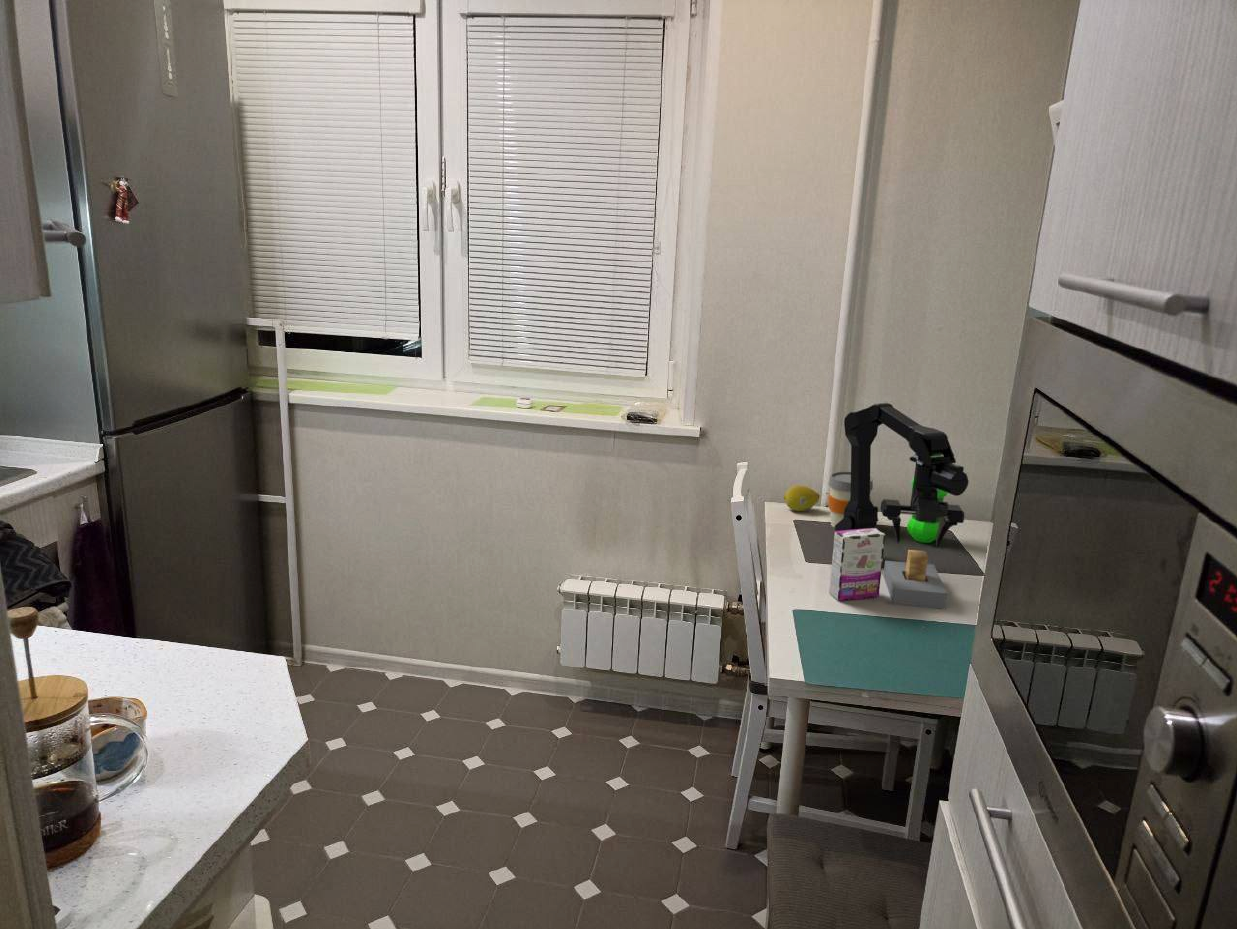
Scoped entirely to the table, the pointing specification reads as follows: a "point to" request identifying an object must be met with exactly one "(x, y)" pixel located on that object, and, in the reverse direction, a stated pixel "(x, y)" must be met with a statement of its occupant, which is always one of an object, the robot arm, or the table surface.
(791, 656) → the table surface
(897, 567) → the socket block
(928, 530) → the plastic bottle
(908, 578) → the peg
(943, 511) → the robot arm
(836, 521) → the reusable coffee cup
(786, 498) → the lemon
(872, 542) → the candy bar box
